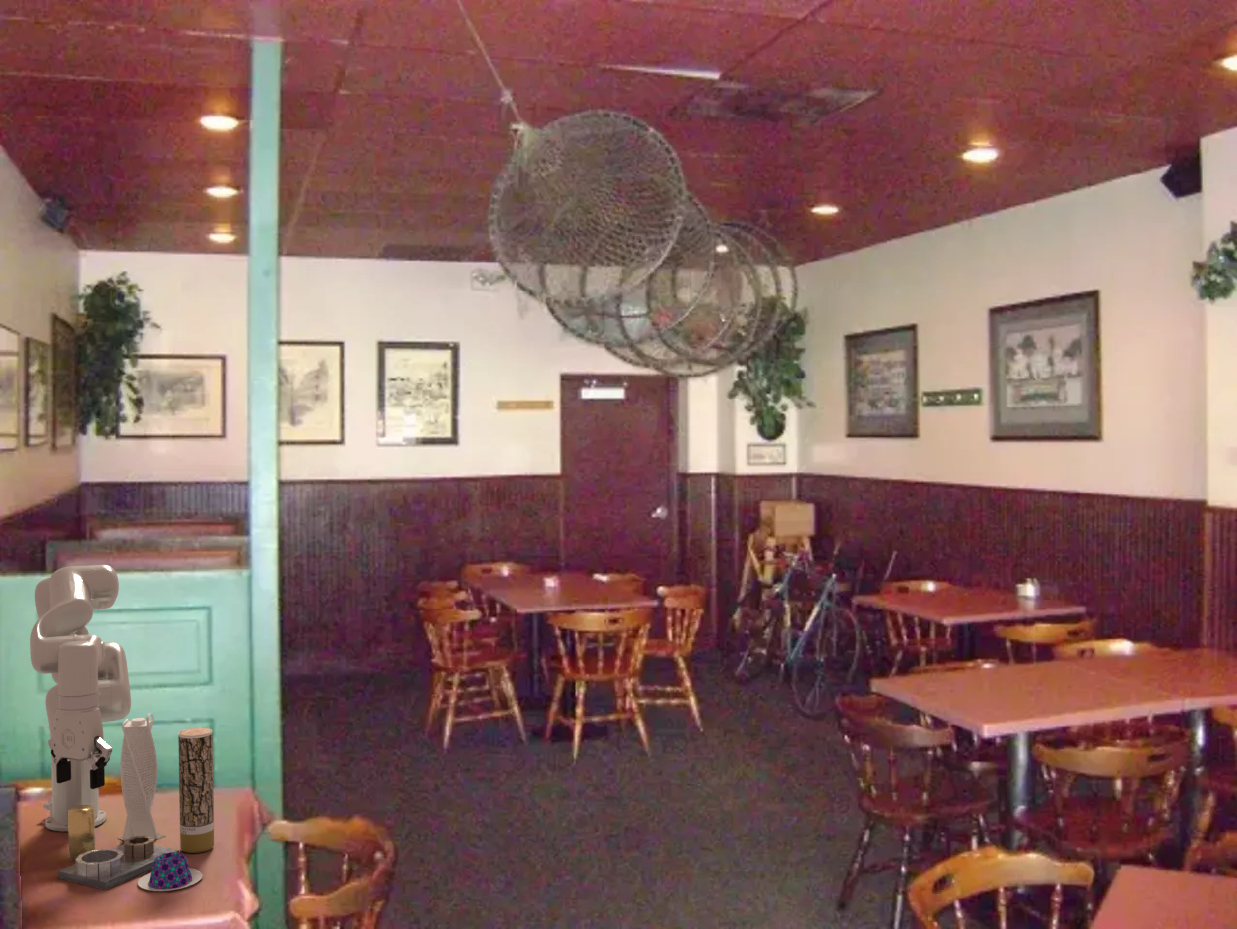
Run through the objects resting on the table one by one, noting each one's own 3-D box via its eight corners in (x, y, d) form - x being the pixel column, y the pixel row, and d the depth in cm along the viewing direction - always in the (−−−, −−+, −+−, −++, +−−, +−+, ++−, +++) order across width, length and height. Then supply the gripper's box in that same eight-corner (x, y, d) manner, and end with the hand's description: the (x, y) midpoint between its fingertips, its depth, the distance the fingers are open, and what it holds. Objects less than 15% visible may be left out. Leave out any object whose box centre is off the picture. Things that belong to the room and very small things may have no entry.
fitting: (63, 858, 262) (62, 810, 262) (83, 850, 267) (82, 803, 266) (80, 862, 260) (79, 814, 260) (100, 854, 265) (99, 807, 264)
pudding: (150, 871, 256) (150, 845, 256) (210, 871, 256) (210, 845, 256) (128, 894, 244) (127, 868, 244) (191, 894, 244) (190, 868, 244)
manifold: (58, 878, 252) (57, 858, 251) (133, 847, 269) (133, 829, 268) (105, 889, 246) (105, 869, 246) (179, 857, 263) (179, 838, 263)
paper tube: (203, 855, 264) (201, 736, 263) (173, 853, 265) (171, 735, 264) (220, 844, 271) (218, 728, 269) (191, 842, 272) (189, 726, 271)
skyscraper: (169, 839, 275) (167, 711, 273) (136, 850, 268) (133, 718, 266) (146, 831, 280) (144, 705, 278) (113, 841, 273) (110, 712, 271)
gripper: (33, 701, 262) (35, 784, 263) (94, 709, 254) (95, 794, 255) (64, 694, 269) (66, 775, 269) (123, 702, 261) (125, 785, 262)
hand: (80, 784), depth 262 cm, fingers open, 9 cm apart
